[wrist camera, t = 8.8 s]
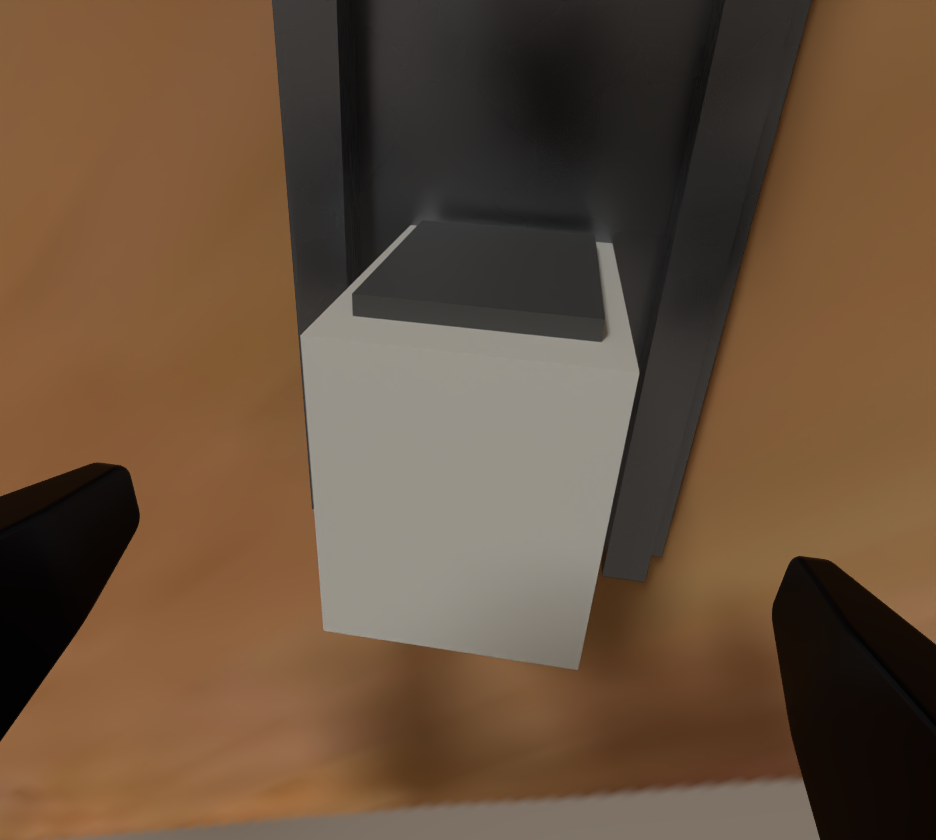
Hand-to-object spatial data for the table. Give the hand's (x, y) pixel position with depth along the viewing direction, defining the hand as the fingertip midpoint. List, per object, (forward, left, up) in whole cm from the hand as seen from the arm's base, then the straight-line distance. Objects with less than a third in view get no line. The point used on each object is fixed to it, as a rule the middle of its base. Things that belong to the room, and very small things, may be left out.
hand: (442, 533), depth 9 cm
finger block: (0, 0, -6) cm, 6 cm away
